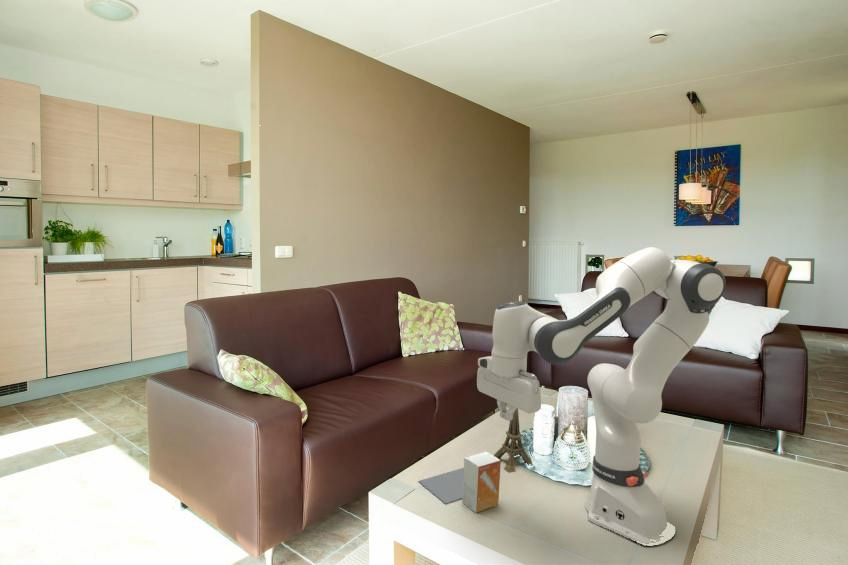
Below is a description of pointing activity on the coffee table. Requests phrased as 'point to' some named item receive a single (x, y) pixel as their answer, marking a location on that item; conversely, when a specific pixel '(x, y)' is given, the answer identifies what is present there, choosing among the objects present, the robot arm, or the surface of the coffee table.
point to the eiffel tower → (513, 444)
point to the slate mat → (446, 486)
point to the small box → (481, 481)
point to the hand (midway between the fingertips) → (506, 418)
